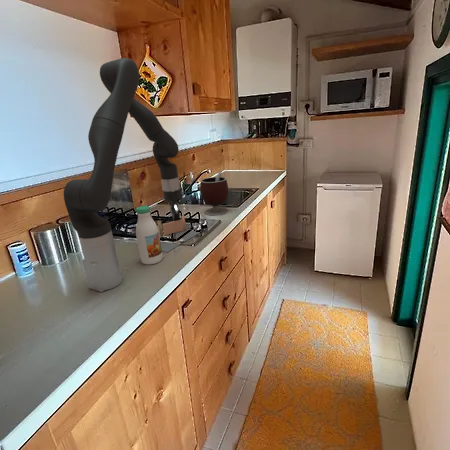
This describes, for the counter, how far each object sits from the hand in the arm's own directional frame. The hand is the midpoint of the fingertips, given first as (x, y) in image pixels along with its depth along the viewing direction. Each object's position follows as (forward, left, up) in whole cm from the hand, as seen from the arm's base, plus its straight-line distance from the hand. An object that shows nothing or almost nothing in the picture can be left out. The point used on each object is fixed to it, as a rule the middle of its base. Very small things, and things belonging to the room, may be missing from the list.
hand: (176, 225), depth 134 cm
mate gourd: (+29, -3, -3) cm, 29 cm away
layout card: (-9, -4, -2) cm, 10 cm away
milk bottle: (-27, -11, -2) cm, 29 cm away
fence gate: (-3, -2, -2) cm, 4 cm away
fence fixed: (-14, +1, -2) cm, 14 cm away
